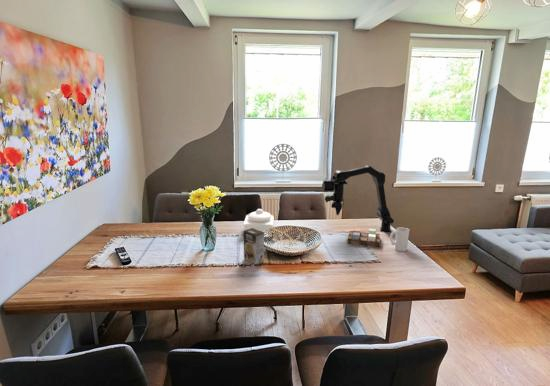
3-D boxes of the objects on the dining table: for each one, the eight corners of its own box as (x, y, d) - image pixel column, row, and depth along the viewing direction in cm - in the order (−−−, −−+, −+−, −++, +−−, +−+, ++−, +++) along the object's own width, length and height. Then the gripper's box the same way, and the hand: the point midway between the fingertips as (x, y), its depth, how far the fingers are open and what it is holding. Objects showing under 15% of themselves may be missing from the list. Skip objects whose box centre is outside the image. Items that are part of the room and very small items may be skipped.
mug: (404, 246, 190) (406, 227, 187) (409, 251, 183) (411, 231, 180) (387, 246, 190) (388, 226, 187) (390, 251, 183) (392, 231, 181)
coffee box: (243, 259, 173) (242, 230, 169) (252, 255, 178) (252, 227, 174) (255, 264, 167) (255, 235, 163) (264, 260, 172) (264, 231, 168)
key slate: (352, 238, 197) (352, 232, 196) (359, 239, 196) (359, 232, 195) (352, 241, 194) (352, 234, 193) (359, 241, 193) (359, 235, 192)
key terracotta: (353, 234, 204) (353, 228, 203) (359, 235, 203) (360, 229, 202) (352, 236, 200) (353, 230, 199) (359, 237, 199) (360, 231, 198)
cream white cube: (368, 240, 195) (368, 233, 194) (375, 241, 194) (375, 234, 193) (367, 242, 191) (368, 236, 190) (375, 243, 190) (375, 237, 189)
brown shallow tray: (349, 235, 206) (349, 230, 206) (379, 238, 201) (379, 234, 201) (347, 243, 193) (347, 239, 193) (379, 247, 188) (379, 242, 188)
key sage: (368, 234, 201) (368, 228, 200) (375, 235, 200) (375, 229, 199) (368, 236, 198) (368, 230, 197) (375, 237, 196) (375, 231, 195)
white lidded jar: (272, 238, 202) (272, 213, 198) (243, 237, 203) (243, 213, 199) (273, 228, 219) (273, 205, 215) (246, 227, 220) (246, 204, 216)
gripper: (327, 186, 215) (326, 209, 218) (323, 193, 197) (322, 218, 201) (345, 188, 211) (343, 211, 215) (342, 195, 194) (341, 220, 198)
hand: (337, 215), depth 208 cm, fingers closed
